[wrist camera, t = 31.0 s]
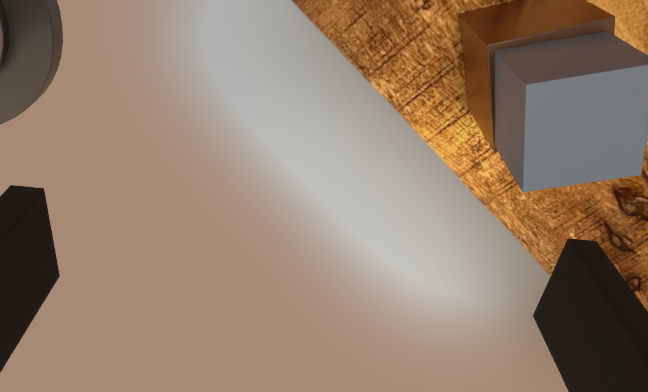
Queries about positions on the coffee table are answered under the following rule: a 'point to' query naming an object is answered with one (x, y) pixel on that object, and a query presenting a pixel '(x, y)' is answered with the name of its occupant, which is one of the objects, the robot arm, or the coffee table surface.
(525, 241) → the coffee table surface
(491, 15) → the block
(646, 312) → the robot arm
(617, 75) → the blue block
